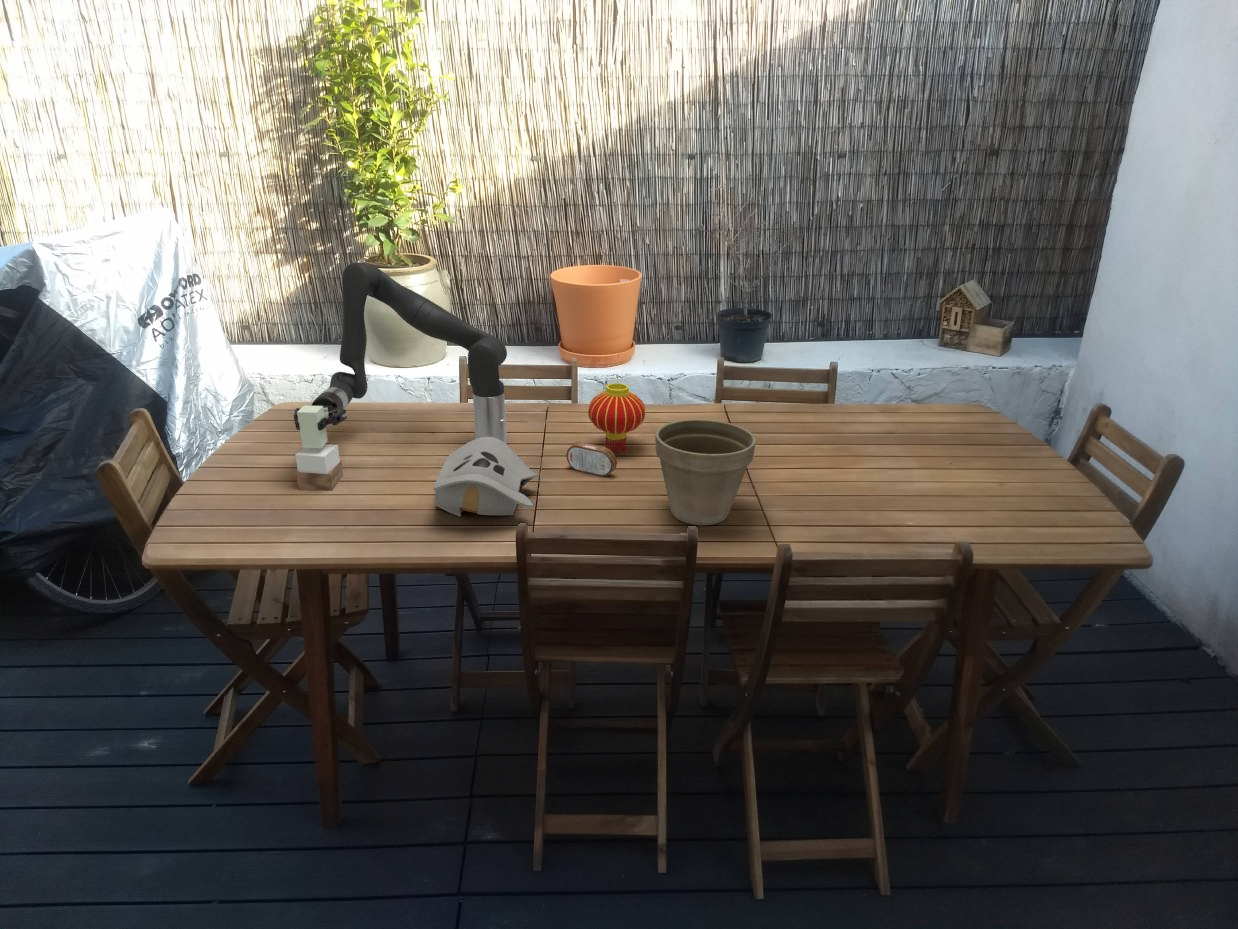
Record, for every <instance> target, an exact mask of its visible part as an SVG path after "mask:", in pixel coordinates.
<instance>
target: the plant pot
mask: <svg viewBox="0 0 1238 929" xmlns="http://www.w3.org/2000/svg"><path fill="white" fill-rule="evenodd" d="M654 442H655V444H654V445H655V446H654V447H655V454H656V456H657V457H658V458H659V460H660V466H661V472H662V476H663V480H664V485H665V489H666V495H667V499H668V505H669V508H670V512H671V515H672V516H673V517H674V518H676V519H677V520H678V521H681V522H682V523H686V524H690V525H695V526H712V525H717V524H720V523H722V522H723V521H725V520H726V519H727V517H728V515H729V513H730V510H731V509H732V506H733V504H734V501H735V498H736V496H737V494H738V491H739V488H740V486H741V483H742V482H743V478H744V476H745V473H746V472H747V468H748V466H749V464H751V463H752V461H753V459H754V455H755V449H756V444H757V439H756V437H755V435H754V434H753V433H752V432H751V431H749V430H748V429H746V428H744V427H742V426H740V425H737V424H735V423H731V422H727V421H722V420H716V419H705V418H691V419H690V418H687V419H681V420H680V419H679V420H676V421H671V422H667V423H666V424H664V425H662V426H660V427H659V428H657V430H656V431H655V440H654Z"/></svg>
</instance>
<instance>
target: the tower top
mask: <svg viewBox="0 0 1238 929" xmlns="http://www.w3.org/2000/svg"><path fill="white" fill-rule="evenodd" d="M295 460H296V467H297V472H305V473H319V474H328V473H329V472H330V471H331V470H332V469H333V468H334V467H335V466H336V465H337V464H338V463H339V462H340V460H341V459H340V452H339V444H329V443H328V444H327V443H326V444H325V445H324V446H323V447H322V448H301V450H299V451H298V452H297V453H295Z"/></svg>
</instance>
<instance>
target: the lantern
mask: <svg viewBox="0 0 1238 929" xmlns="http://www.w3.org/2000/svg"><path fill="white" fill-rule="evenodd" d="M617 357H619V353H618V354H617ZM616 379H617V381H616V383H615V382H614V383H609V384H607V385H606V387H605V388H606V389H605V391H602V392H600V393H598V394H597V395H595V396H594V397H593V398H592V399H591V401H590V402H589V405H588V411H587V415H588V419H589V421H590V422H591V423H592V425H594V426H595V427H596V429H598V430H600V431H603V432H605V447H606V448H608V449H609V450H611V451H612V452H613V453H614V454H623V453H625V452H626V450H627V436H628V433H630V432H632V431H635V430H636V429H638V428H639V427H640V425H642V423H643V422H644V421H645V418H646V406H645V403H644V402H643V400H642V399H641V398H640V397H639V396H638V395H637V394H635V393H633V392H631V391H630V390H629V388H630V387H629V385H627V384H625V383H619V375H617V378H616Z"/></svg>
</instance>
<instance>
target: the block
mask: <svg viewBox="0 0 1238 929" xmlns="http://www.w3.org/2000/svg"><path fill="white" fill-rule="evenodd" d="M297 416H298V422H299V426H300V430H299V434H300V440H301V441H300V442H301V447H302V448H301V449H303V448H322V447H323V446H324V445H325V444H327V443H328V441H329V439H328V432H327V426H326V427H325V428H324V429H322V430H321V431H319V430H318V426H317V423H318V422H319V421H320V420H321V419H322V418H324V409H323V406H311V405H303V406H302V407H300V410H299V411H298V412H297Z"/></svg>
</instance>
